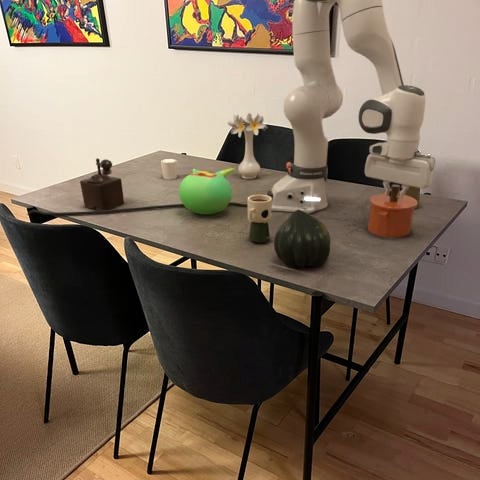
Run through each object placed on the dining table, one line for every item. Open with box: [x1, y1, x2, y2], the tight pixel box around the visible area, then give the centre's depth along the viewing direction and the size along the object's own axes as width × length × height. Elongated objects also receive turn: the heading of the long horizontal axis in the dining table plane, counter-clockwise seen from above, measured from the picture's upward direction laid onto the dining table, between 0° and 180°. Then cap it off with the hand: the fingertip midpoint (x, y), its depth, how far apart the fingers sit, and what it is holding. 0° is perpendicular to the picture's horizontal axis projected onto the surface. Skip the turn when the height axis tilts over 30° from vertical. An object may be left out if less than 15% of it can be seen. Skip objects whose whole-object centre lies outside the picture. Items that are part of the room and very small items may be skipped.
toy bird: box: [178, 167, 235, 215], centre depth 163 cm, size 18×17×15 cm
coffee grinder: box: [79, 157, 125, 211], centre depth 168 cm, size 16×11×18 cm
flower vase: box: [227, 112, 268, 180], centre depth 196 cm, size 13×18×25 cm
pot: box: [367, 203, 416, 238], centre depth 148 cm, size 13×18×9 cm
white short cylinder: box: [160, 158, 178, 181], centre depth 201 cm, size 7×7×7 cm
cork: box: [404, 186, 421, 210], centre depth 167 cm, size 6×6×11 cm
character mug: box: [247, 194, 273, 243], centre depth 142 cm, size 11×7×13 cm, turn 147°
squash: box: [273, 209, 331, 268], centre depth 129 cm, size 14×15×15 cm
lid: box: [369, 184, 417, 210], centre depth 144 cm, size 14×14×6 cm
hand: (394, 196), depth 145 cm, fingers closed on lid, 2 cm apart
